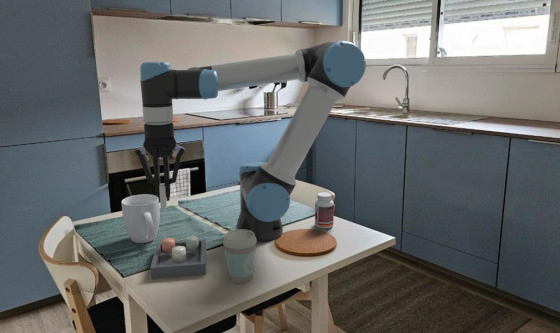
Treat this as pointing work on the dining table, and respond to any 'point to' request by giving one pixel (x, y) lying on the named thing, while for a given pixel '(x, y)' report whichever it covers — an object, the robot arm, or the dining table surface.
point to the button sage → (192, 244)
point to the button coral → (168, 245)
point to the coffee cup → (240, 254)
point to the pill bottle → (324, 211)
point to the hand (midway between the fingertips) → (164, 207)
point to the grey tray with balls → (168, 268)
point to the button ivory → (179, 254)
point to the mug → (141, 217)
